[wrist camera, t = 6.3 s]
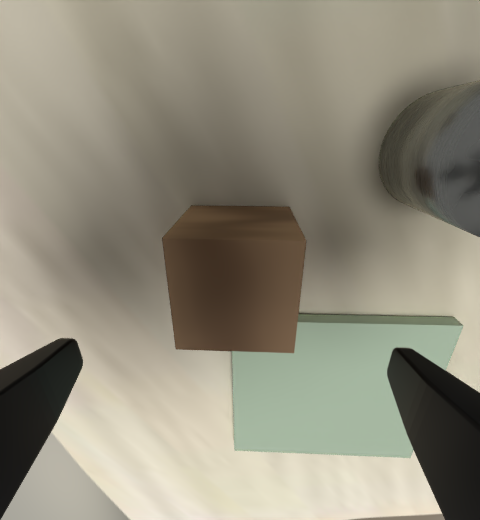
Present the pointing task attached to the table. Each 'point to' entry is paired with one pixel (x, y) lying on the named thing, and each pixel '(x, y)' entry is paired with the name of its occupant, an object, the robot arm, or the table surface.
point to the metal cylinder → (437, 156)
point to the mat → (333, 385)
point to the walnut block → (235, 278)
